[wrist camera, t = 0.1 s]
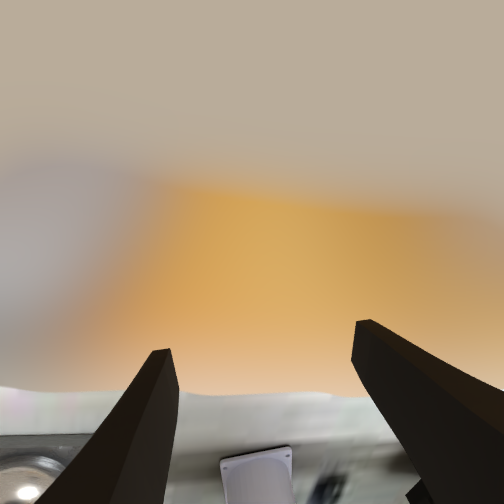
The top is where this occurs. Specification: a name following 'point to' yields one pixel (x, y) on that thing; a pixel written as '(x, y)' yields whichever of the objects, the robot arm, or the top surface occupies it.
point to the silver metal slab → (34, 464)
